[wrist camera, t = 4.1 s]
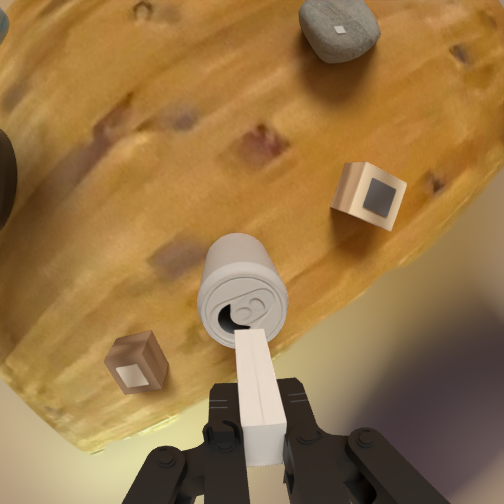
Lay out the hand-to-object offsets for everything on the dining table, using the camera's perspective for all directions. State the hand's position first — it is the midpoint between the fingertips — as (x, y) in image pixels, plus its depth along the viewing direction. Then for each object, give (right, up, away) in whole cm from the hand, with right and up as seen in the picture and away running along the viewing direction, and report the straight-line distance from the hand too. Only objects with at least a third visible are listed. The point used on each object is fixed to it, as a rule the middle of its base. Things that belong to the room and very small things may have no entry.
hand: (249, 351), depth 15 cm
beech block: (+11, +12, +15) cm, 22 cm away
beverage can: (-1, +4, +16) cm, 16 cm away
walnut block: (-13, -7, +18) cm, 23 cm away
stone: (+10, +30, +10) cm, 33 cm away
